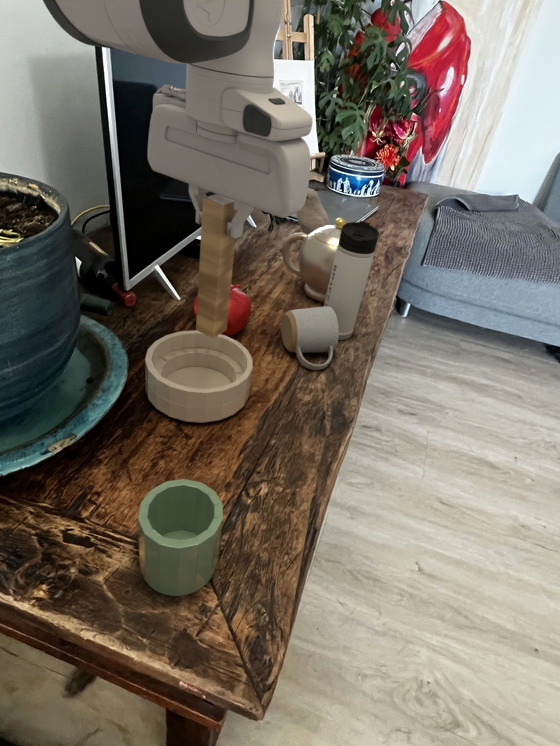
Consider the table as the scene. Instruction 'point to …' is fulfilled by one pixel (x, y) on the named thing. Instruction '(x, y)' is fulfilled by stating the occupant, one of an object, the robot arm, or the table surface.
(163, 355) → the stepped round dish
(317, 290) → the teapot
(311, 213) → the bird
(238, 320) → the pomegranate
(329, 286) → the travel mug
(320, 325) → the ceramic mug
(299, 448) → the table surface
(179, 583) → the pot
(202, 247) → the long wooden block
